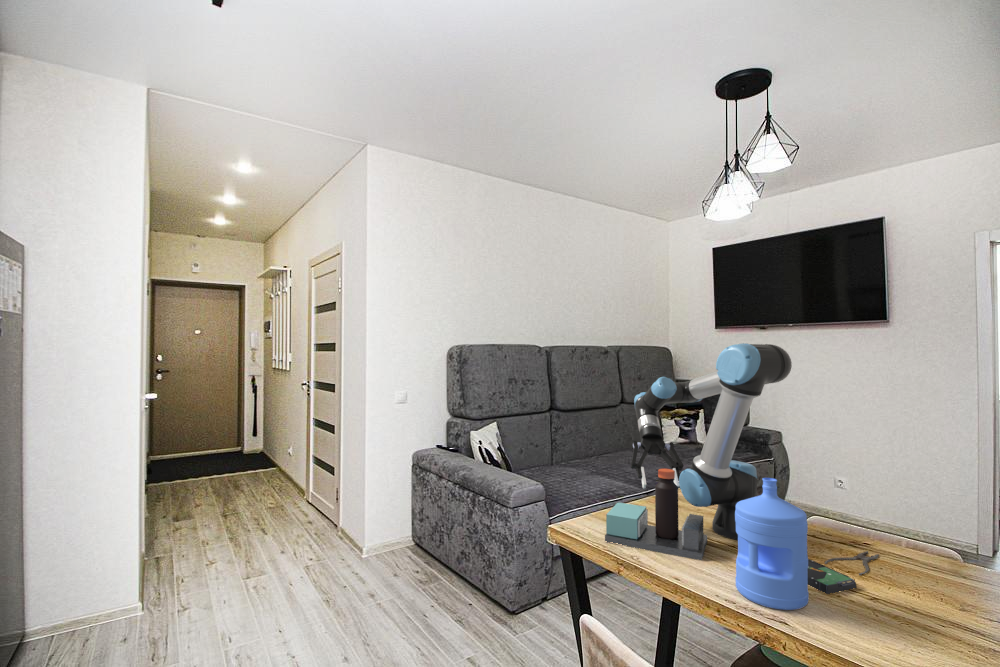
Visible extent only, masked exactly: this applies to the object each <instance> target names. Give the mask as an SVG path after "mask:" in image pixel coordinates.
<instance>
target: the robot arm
mask: <svg viewBox="0 0 1000 667" xmlns="http://www.w3.org/2000/svg"><path fill="white" fill-rule="evenodd" d="M716 359H717V360H716V363H715V370H716V371H714V372H710V373H708V374H705V375H702V376H699V377H696V378H693V379H691V380H687V381H683V382H682V381H680V382H679V381H678V382H677V381H676V382H675V381H673V379H672V378H670V377H666V376H661V377H658V378H657V379H656V380H655V381H654V382H653V383H652V385H651V386H650V387H649V388H648V390H647V391H645V392H644V391H643V392H640V393H639V394H638V393H637V394H636V395H635V396H634V399H633V400H634V401H633V403H634V410H635V415H636V421H637V426H638V431H639V438H640V442H639V441H637V440H634V441H633V442H632V449H633V450H632V457H631V463H630V468H631V469H635V471H636V475H637V478H638V479H641V486H642V489H644V490H645V489H646V487H647V486H648V485H647V480H646V479H647V478H646V474H645V467H644V466H643V464H644V462H645V460H646V458H647V456H648V454H649V455H651V456H652V455H656V456H659V457H660V458H662V459H663V461H664V462H665V463H666V464H667V465H668V467H669V469H672V470H674V471H675V478H674V479H675V480H674V483H675V484H676V486H677V487H678V489H680V491H681V494H682V496H683V498H684V499H685V500H686V502H688V503H689V504H691V506H694V507H696V508H702V507H703V508H707V507H711V506H716V505H717V508H716V511H715V513H714V516H713V519H712V522H711V523H712V526H711V527H712V531H713V532H714V533H715V534H717V535H718V536H721V537H724V538H727V539H731V540H736V541H738V534H737V533H736V522H735V510H736V504H737V503H738V502H739V501H742V500H745V499H749V498H752V497H756V496H758V475H757V473H758V472H757V468H756V466H754V465H753V464H751V463H748V462H746V461H745V462H744V461H739V460H734V459H733V457H734V453H735V449H736V448H737V445H738V442H739V439H740V437H741V433H742V430H743V428H744V425H745V423H746V420H747V417H748V414H749V411H750V408H751V405H752V402H753V400H754V399H755V398H758V397H760V396H761V394H762V392H763V390H764V387H765V385H768V384H774V383H775V384H776V383H779V382H781V381H784V380H785V379H786V378H787V377H788V376H789V375H790V373H791V370H792V364H793V363H792V358H791V357H790V355H789V352H787V351H786V350H785V349H784V348H782V347H781V346H778V345H776V344H770V343H769V344H767V343H766V344H763V343H761V344H758V343H757V344H756V343H747V342H746V343H744V342H743V343H738V344H737V343H736V344H731V345H729V346H727V347H725V348H724V349H723V350H722V351H721V352H720V353H719V355H718V357H717V358H716ZM716 395H720V396H719V397H718V401H717V404H716V407H715V410H714V413H713V416H712V419H711V423H710V425H709V429H708V432H707V434H706V437H705V440H704V444H703V445H702V446H703V447H702V450H701V452H700V454H698V455H696V456H694V458H693V459H692V463H691V465H690V468H686V469H684V468H683V467H684V463H683V462H682V460H681V458H680V456H679V454H678V452H677V450H676V448H675V447H674V446H675V445H674V442H671V441H670V442H669V443H666V442H665V441H664V438H663V432H662V430H661V429H662V428H661V425H660V421H659V420H660V419H659V416H658V412H659V411H660V410H661V409H662V408H663V407H664V406H665V405H667V404H681V403H684V404H685V403H687V404H688V403H689V404H691V403H692V404H693V403H697V402H698V403H699V402H701V401H702V400H703V399H705V398H709V397H712V396H716ZM640 447H641V449H643V452H642V455H641V456H640V459H639V460H638V463H637V462H636V461H637V456H638V450H639V449H640ZM665 448H666V449H667V451H668V452H669V453H667V451H666V449H665ZM732 459H733V460H732ZM683 469H684V470H683Z"/></svg>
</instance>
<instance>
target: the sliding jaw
mask: <svg viewBox="0 0 1000 667" xmlns="http://www.w3.org/2000/svg"><path fill="white" fill-rule="evenodd" d="M648 514H649V513H648V509H647V506H645V505H638V504H631V503H624V502H619V501H618V502H617V503H615V505H614V506H613V507H612V508H611V509H610V510H609V511H608V512H607V513H606V522H605V524H606V525H605V526H606V528H605V533H606V534H610V535H615V536H621V537H626V538H632V539H638V537H640V536H641V534H642V533H643V531H644V530H645V528H646V527H647V525H649V520H648V519H649V518H648V517H649V516H648ZM606 534H605V535H606Z"/></svg>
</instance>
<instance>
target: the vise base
mask: <svg viewBox="0 0 1000 667" xmlns="http://www.w3.org/2000/svg"><path fill="white" fill-rule="evenodd" d="M605 541H607V542H606V543H608V542H613V543H618V544H622V545H621V546H623V545H627V546H626V547H628V546H631V547H630V548H634V547H635V549H639V548H640V549H639V550H644V549H645V551H649V550H650V552H655V553H660V554H661V553H662V554H666V555H671V556H676V557H682V558H687V559H692V560H697V561H703V557H704V555H705V551H706V548H707V543H708V534H704V515H700V514H693V513H689V514H688V515H687V516H686V518H685V520H684V522H683V524H682V527H681V529H679V535H678V537H677V538H675V539H666V538H661V537H659V536H657V535H656V525H651V524H648V525H647V527H646V528H645V530H644V531H643V533H642V534H641V536H640V537H638V539H632V538H626V537H621V536H615V535H610V534H604V542H605ZM613 543H612V544H613ZM618 544H617V545H618Z"/></svg>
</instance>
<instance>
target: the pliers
mask: <svg viewBox="0 0 1000 667" xmlns="http://www.w3.org/2000/svg"><path fill="white" fill-rule="evenodd" d="M868 554H869V551H868V550H867V551H863V552H860V553H858V554H857V555H854V556H851V557H833V558H829V559H827V560H825V561H824V564H825V565H828V564H829V563H830V561H831V562H833V561H834V560H835V561H858V560H859V561H862V565H863V566H865V567H864V568H866V569H864V571H862V572H859V573H858V574H859V575H858V576H863V575H862V574H865V573H867V572H868V571H869V572H870V567H869V565H868V563H869V562H872V561H871V560H873V561H875V560H874V559H877V558H878V559H879V557H880V554H874V555H870V556H867V555H868ZM878 556H879V557H878ZM878 559H877V560H878ZM828 562H829V563H828ZM869 572H868V573H869ZM868 573H867V574H868ZM865 575H866V574H865Z"/></svg>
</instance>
